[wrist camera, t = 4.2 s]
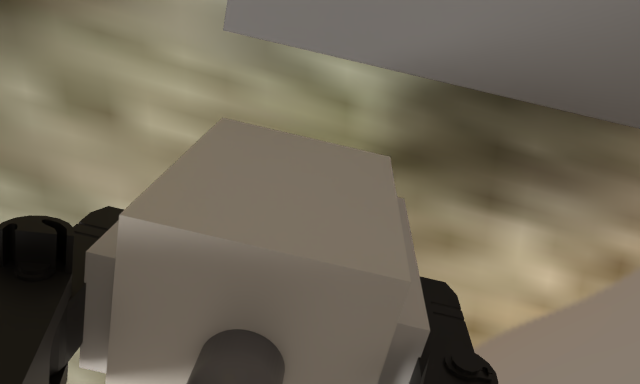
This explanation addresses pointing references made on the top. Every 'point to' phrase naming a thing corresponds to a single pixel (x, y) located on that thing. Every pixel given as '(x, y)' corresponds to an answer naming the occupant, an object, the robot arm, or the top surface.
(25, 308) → the robot arm
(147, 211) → the plug
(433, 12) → the socket
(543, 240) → the top surface
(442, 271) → the top surface
